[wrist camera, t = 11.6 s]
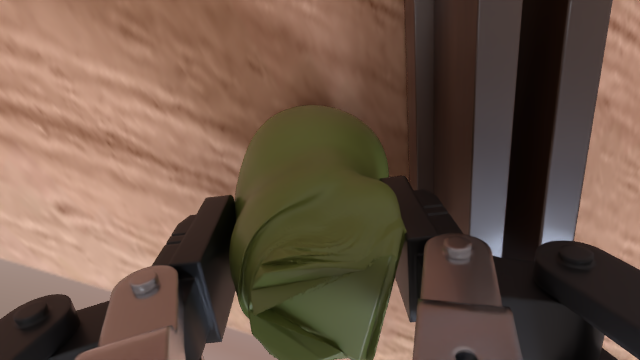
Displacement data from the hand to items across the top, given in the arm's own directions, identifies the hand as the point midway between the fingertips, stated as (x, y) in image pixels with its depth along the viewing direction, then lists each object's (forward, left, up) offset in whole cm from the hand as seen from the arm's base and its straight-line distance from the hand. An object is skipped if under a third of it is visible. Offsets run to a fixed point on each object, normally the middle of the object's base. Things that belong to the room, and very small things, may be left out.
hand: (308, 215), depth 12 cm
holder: (-7, 0, -6) cm, 9 cm away
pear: (0, 0, -6) cm, 6 cm away
